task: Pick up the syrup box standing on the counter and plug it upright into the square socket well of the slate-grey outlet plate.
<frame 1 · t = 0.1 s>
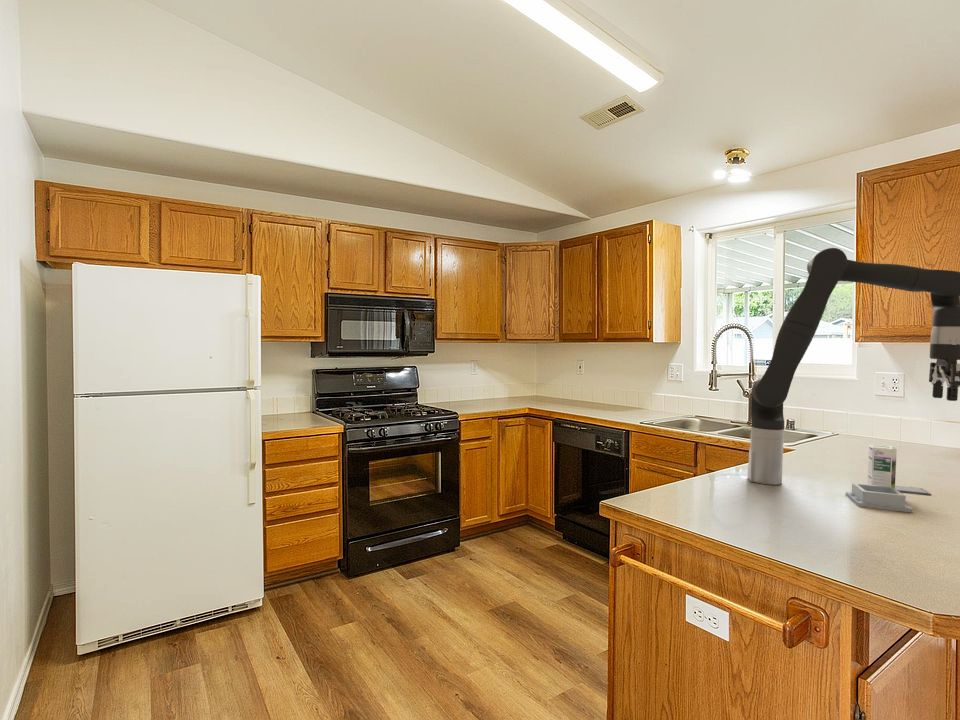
hand: (944, 399, 152), 29 cm above the counter, tool pointing down, fingers open, 8 cm apart
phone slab: (900, 491, 163), on the counter
outlet plate: (877, 503, 147), on the counter
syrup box: (880, 495, 156), on the counter
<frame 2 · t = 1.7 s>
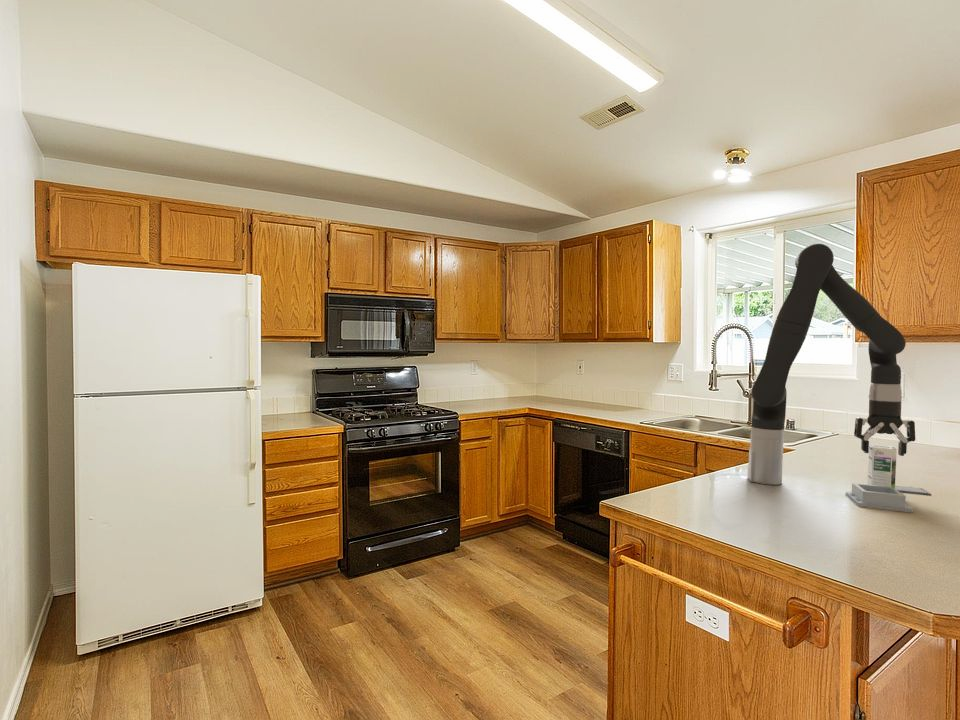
hand: (883, 454, 155), 12 cm above the counter, tool pointing down, fingers open, 8 cm apart
nothing on the counter moved.
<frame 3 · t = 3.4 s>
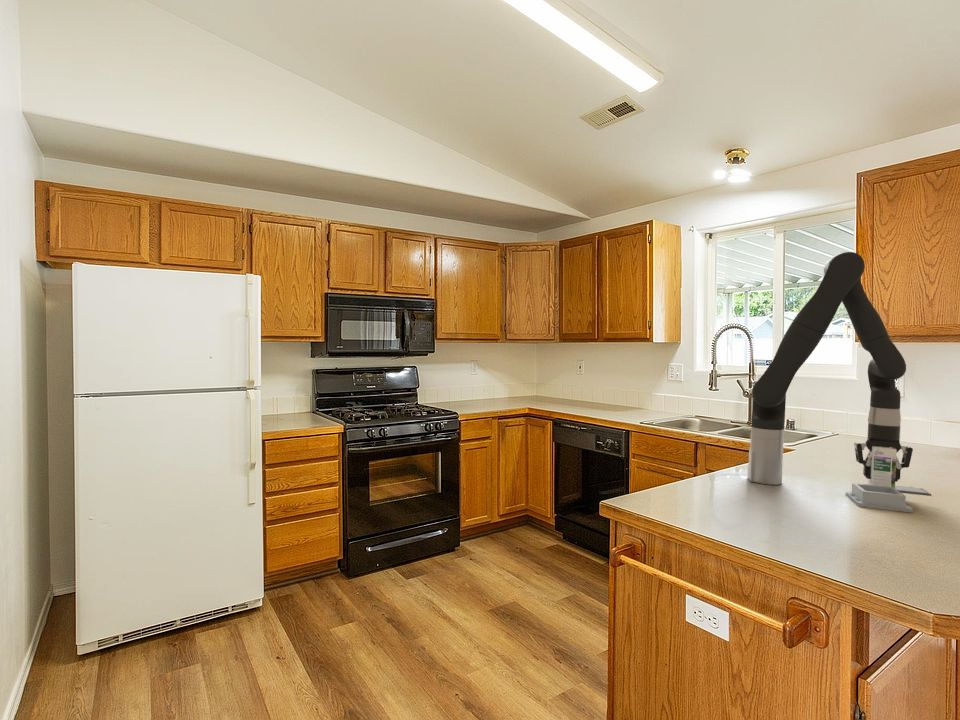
hand: (881, 479, 156), 5 cm above the counter, tool pointing down, fingers closed on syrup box, 6 cm apart
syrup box: (880, 495, 156), on the counter, touching gripper
everything else where it was.
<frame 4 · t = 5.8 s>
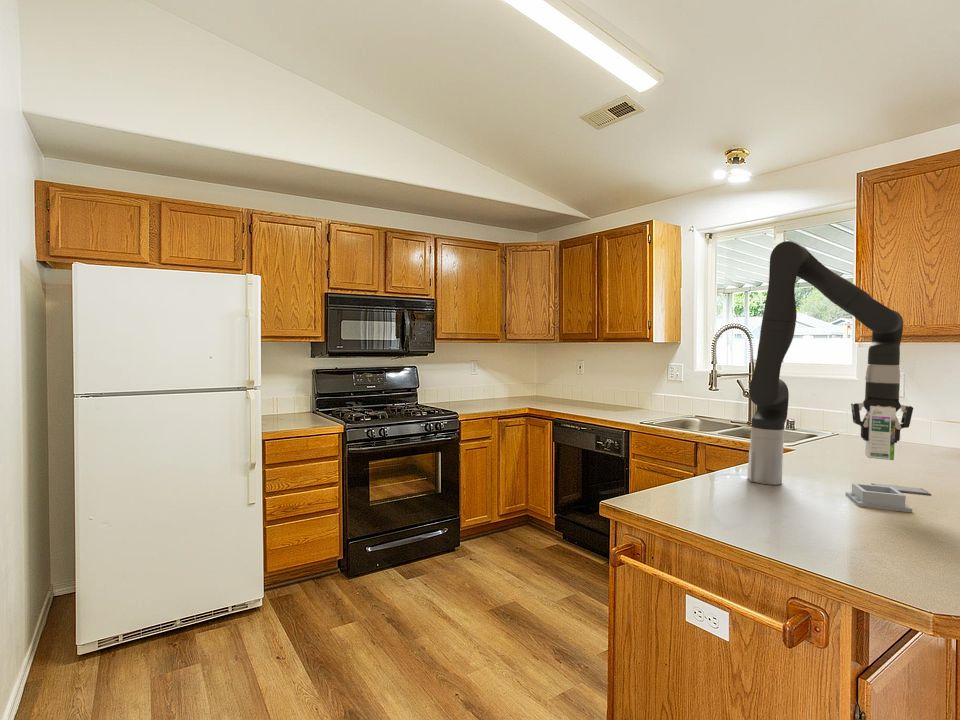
hand: (879, 441, 147), 17 cm above the counter, tool pointing down, fingers closed on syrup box, 6 cm apart
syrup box: (878, 458, 147), point 13 cm above the counter, touching gripper
everything else where it was.
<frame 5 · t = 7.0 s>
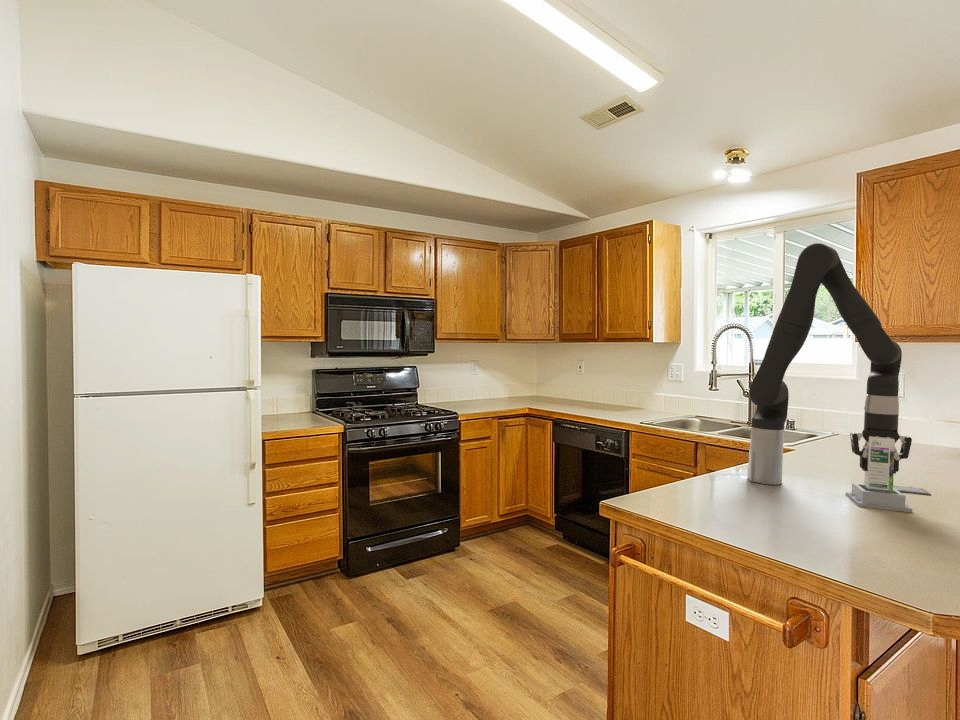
hand: (878, 471, 147), 9 cm above the counter, tool pointing down, fingers closed on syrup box, 6 cm apart
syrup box: (877, 488, 147), point 4 cm above the counter, touching gripper
everything else where it was.
when the fingers open (7 cm above the counter, at t = 8.3 s): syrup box drops 1 cm, resting on outlet plate.
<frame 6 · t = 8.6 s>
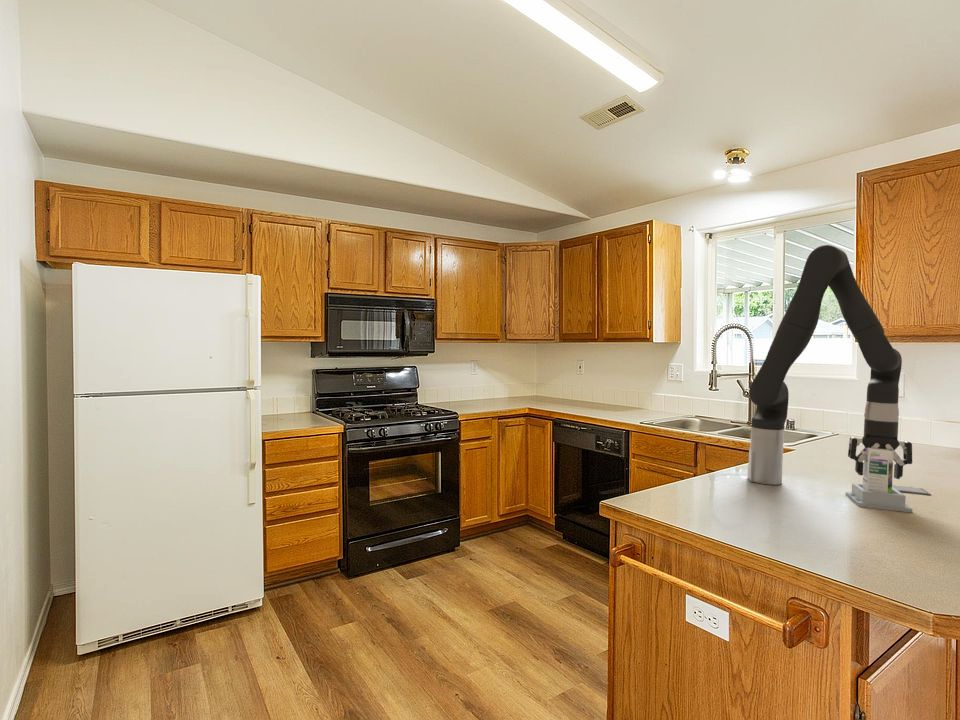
hand: (878, 476, 147), 7 cm above the counter, tool pointing down, fingers open, 8 cm apart
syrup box: (876, 500, 147), point 1 cm above the counter, touching outlet plate
everything else where it was.
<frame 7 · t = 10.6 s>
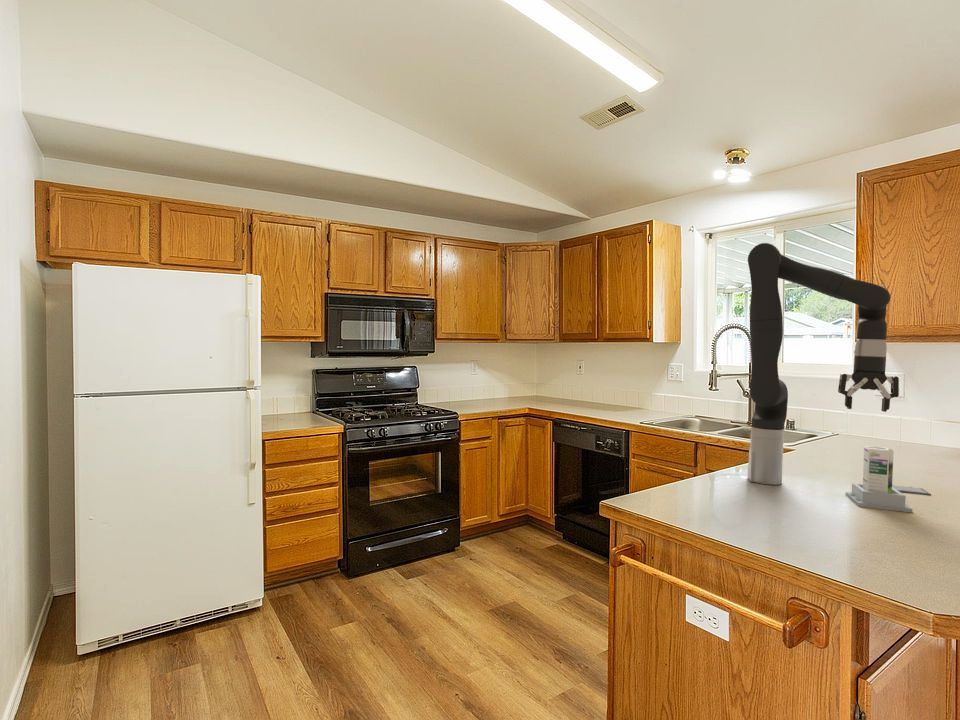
hand: (866, 410, 155), 25 cm above the counter, tool pointing down, fingers open, 8 cm apart
nothing on the counter moved.
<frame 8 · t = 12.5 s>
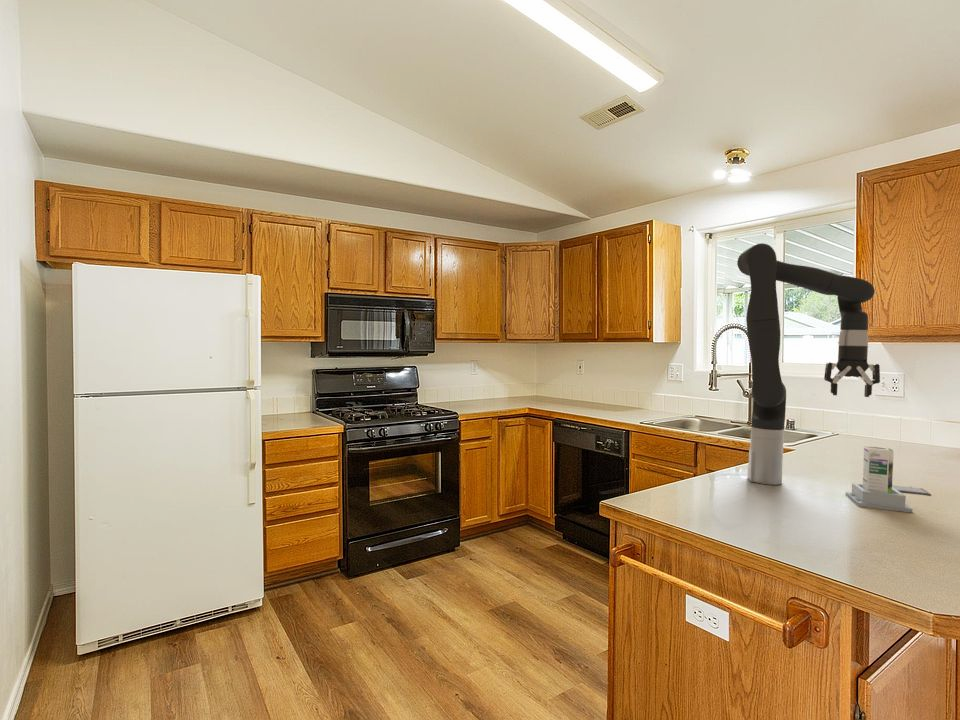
hand: (850, 396, 167), 28 cm above the counter, tool pointing down, fingers open, 8 cm apart
nothing on the counter moved.
at the end: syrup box 0.3 cm from the outlet plate (horizontally); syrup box tilted 0°; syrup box touching outlet plate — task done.
